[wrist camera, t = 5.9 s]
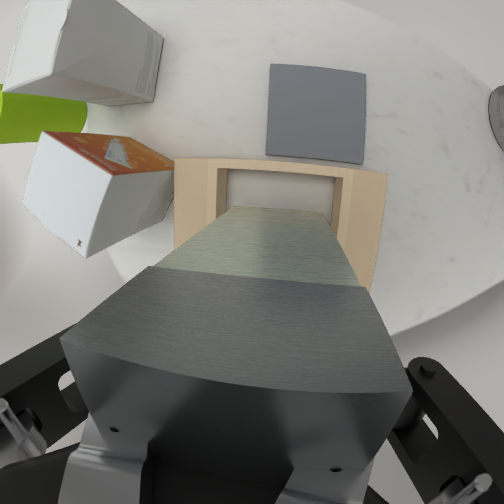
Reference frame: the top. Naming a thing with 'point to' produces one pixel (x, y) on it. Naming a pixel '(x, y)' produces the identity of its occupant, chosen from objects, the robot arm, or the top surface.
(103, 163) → the small box
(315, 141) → the mat
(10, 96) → the soap dispenser
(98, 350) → the tea tin
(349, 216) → the wooden rectangular frame
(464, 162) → the top surface
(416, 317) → the top surface
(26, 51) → the skincare box
